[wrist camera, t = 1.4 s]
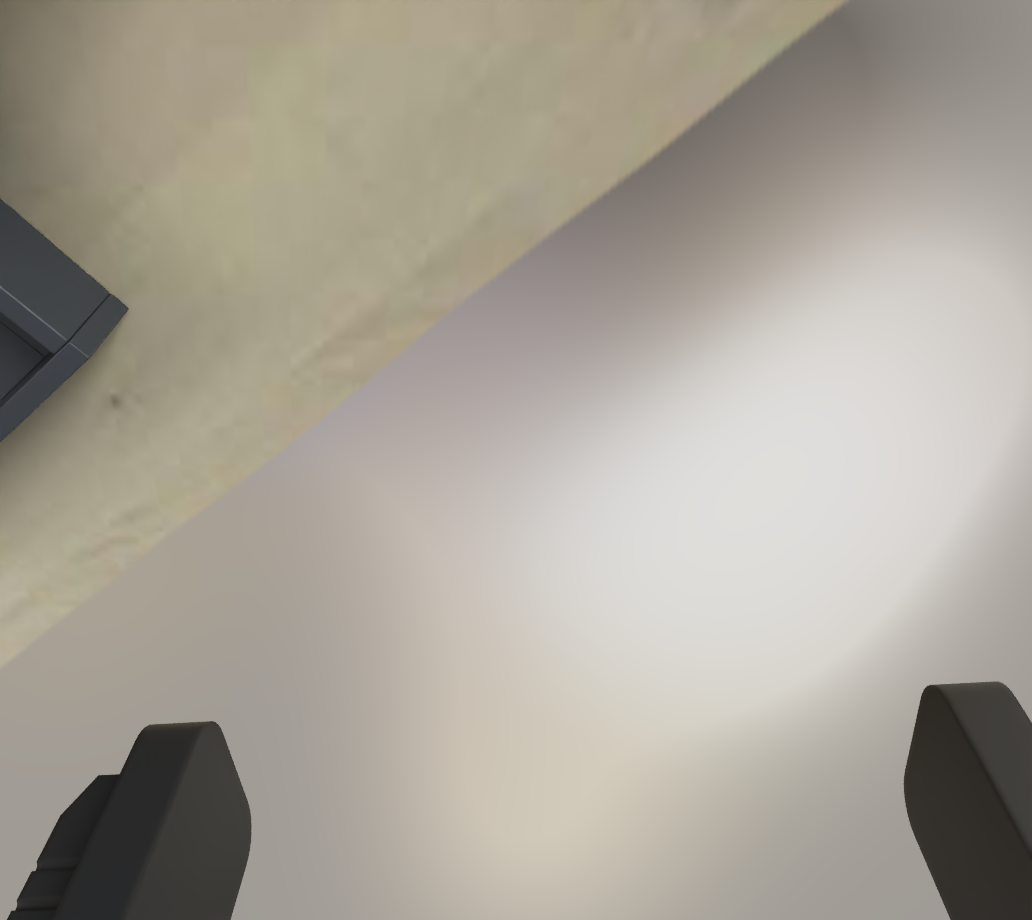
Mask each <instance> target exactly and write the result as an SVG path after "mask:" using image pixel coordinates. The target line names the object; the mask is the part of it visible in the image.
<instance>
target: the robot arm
mask: <svg viewBox="0 0 1032 920" xmlns="http://www.w3.org/2000/svg"><path fill="white" fill-rule="evenodd" d="M904 794H905V802H906V808H907V813H908V817H909V821H910V824H911V827H912V830H913V833H914V835H915V838H916V840H917V842H918V845H919V847H920V849H921V852H922V854H923V856H924V859H925V861H926V863H927V866H928V868H929V870H930V872H931V875H932V877H933V880H934V882H935V884H936V887H937V889H938V891H939V893H940V896H941V898H942V900H943V903H944V905H945V908H946V910H947V912H948V915H949V917H950V919H951V920H1032V723H1031V721H1030V720H1029V718H1028V716H1027V715H1026V713H1025V711H1024V710H1023V708H1022V707H1021V705H1020V704H1019V702H1018V700H1017V699H1016V697H1015V696H1014V694H1013V693H1012V692H1011V691H1010V689H1009V688H1008V687H1007V686H1006V685H1004V684H1003V683H1000V682H980V683H960V684H943V685H942V684H941V685H929V686H927V687H926V688H925V689H924V691H923V693H922V696H921V700H920V705H919V709H918V714H917V719H916V723H915V728H914V733H913V738H912V742H911V746H910V751H909V756H908V760H907V765H906V769H905V776H904ZM250 843H251V814H250V809H249V805H248V801H247V798H246V796H245V793H244V790H243V787H242V785H241V782H240V779H239V777H238V773H237V771H236V768H235V765H234V762H233V760H232V757H231V754H230V751H229V749H228V746H227V743H226V740H225V738H224V735H223V732H222V730H221V728H220V727H219V725H218V724H217V723H216V722H213V721H210V722H191V723H173V724H154V725H149V726H147V727H145V728H144V729H143V730H142V731H141V732H140V734H139V735H138V737H137V739H136V741H135V743H134V745H133V747H132V749H131V751H130V754H129V756H128V758H127V760H126V762H125V764H124V767H123V768H122V771H121V773H120V774H118V775H99V776H97V778H96V779H95V780H94V781H93V782H92V783H91V784H90V785H89V786H88V787H87V788H86V789H85V790H84V791H83V792H82V794H81V795H80V796H79V797H78V798H77V799H76V800H75V801H74V802H73V803H72V804H71V805H70V806H69V807H68V808H67V809H66V810H65V811H64V812H63V814H62V815H61V816H60V818H59V819H58V822H57V823H56V825H55V827H54V829H53V831H52V833H51V835H50V837H49V839H48V841H47V843H46V845H45V847H44V849H43V851H42V853H41V854H40V856H39V858H38V860H37V869H36V871H32V872H31V874H30V876H29V878H28V880H27V882H26V884H25V886H24V888H23V890H22V891H21V893H20V895H19V897H18V899H17V908H16V910H15V911H11V913H10V915H9V917H8V919H7V920H230V919H231V916H232V913H233V909H234V906H235V902H236V899H237V895H238V892H239V889H240V885H241V881H242V878H243V875H244V871H245V868H246V864H247V860H248V856H249V851H250Z"/></svg>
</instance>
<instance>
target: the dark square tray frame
mask: <svg viewBox="0 0 1032 920" xmlns="http://www.w3.org/2000/svg"><path fill="white" fill-rule="evenodd" d="M127 310H128V307H126V306H125V305H124V304H123V303H122V302H121V301H119V300H118V299H117V298H116V297H115V296H114V295H112V294H109V292H108V291H107V290H106V289H105V288H104V287H103V286H101V285H100V284H99V283H98V282H97V281H96V280H94V279H93V278H92V277H91V276H90V275H88V274H87V273H86V272H85V271H84V270H83V269H81V268H80V267H79V266H78V265H77V264H76V263H74V262H73V261H72V260H71V259H70V258H69V257H67V256H66V255H65V254H64V253H63V252H62V251H60V250H59V249H58V248H57V247H56V246H55V245H53V244H52V243H51V242H50V241H49V240H48V239H46V238H45V237H44V236H43V235H42V234H41V233H39V232H38V231H37V230H36V229H35V228H34V227H32V226H31V225H30V224H29V223H28V222H27V221H25V220H24V219H23V218H22V217H21V216H20V215H18V214H17V213H16V212H15V211H14V210H13V209H11V208H10V207H9V206H8V205H7V204H5V203H4V202H3V201H2V200H1V199H0V442H1V441H2V440H3V439H4V438H5V437H6V436H8V435H9V434H10V433H11V432H12V431H13V430H14V429H15V428H16V427H17V426H18V425H19V424H20V423H21V422H22V421H23V420H24V419H26V418H27V417H28V416H29V415H30V414H31V413H32V412H33V411H34V410H35V409H36V408H37V407H38V406H39V405H40V404H41V403H42V402H44V401H45V400H46V399H47V398H48V397H49V396H50V395H51V394H52V393H53V392H54V391H55V390H56V389H57V388H58V387H59V386H60V385H62V384H63V383H64V382H65V381H66V380H67V379H68V378H69V377H70V376H71V375H72V374H73V373H74V372H75V371H76V370H77V369H78V368H80V367H81V366H82V365H83V364H84V363H85V362H86V361H87V360H88V359H89V358H90V357H91V355H92V354H93V353H94V352H95V350H96V349H97V348H98V347H99V345H100V344H101V343H102V342H103V340H104V339H105V338H106V337H107V335H108V334H109V333H110V332H111V330H112V329H113V328H114V327H115V325H116V324H117V323H118V322H119V320H120V319H121V318H122V317H123V315H124V314H125V313H126V312H127Z"/></svg>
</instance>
